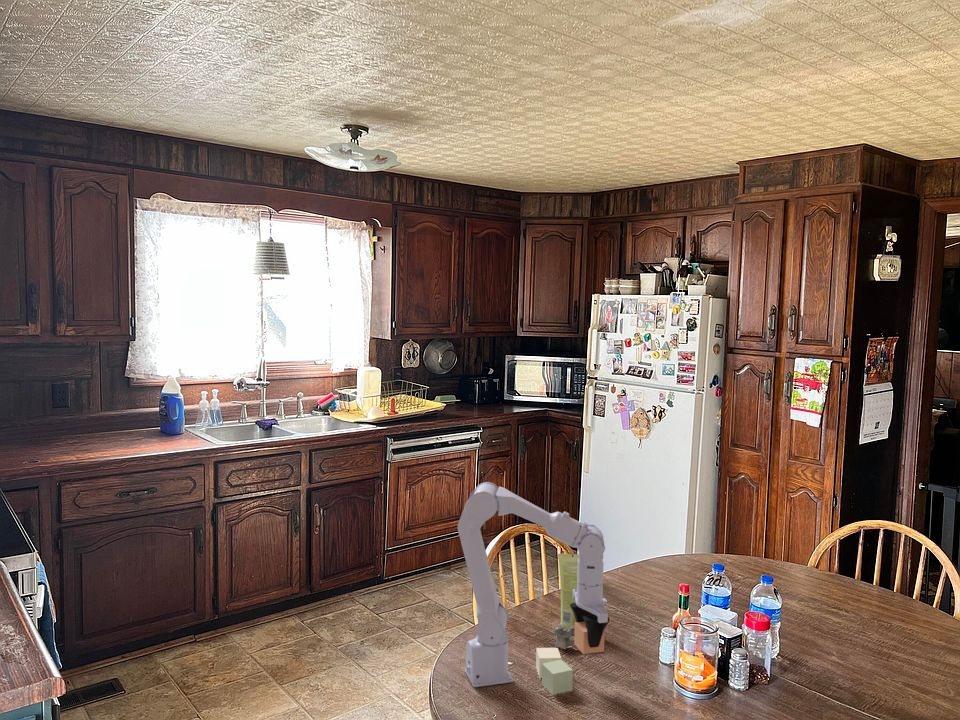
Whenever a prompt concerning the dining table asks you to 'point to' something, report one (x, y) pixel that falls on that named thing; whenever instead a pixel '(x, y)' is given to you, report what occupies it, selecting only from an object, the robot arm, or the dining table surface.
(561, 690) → the sage block
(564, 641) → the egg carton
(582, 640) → the terracotta block
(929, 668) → the dining table surface
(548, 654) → the cream block
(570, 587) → the tube
